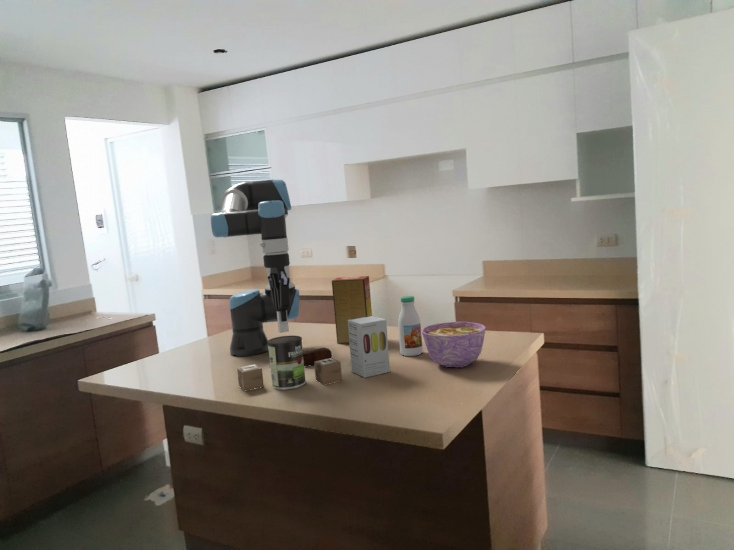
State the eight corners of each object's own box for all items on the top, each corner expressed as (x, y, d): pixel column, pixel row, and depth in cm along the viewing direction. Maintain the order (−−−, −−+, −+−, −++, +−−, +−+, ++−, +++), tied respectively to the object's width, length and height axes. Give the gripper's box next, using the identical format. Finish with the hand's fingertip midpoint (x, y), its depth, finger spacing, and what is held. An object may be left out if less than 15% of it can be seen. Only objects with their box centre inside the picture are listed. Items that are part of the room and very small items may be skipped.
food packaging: (374, 337, 222) (369, 275, 219) (369, 342, 213) (364, 278, 210) (342, 338, 225) (337, 277, 223) (336, 343, 216) (330, 280, 214)
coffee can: (312, 381, 170) (308, 336, 169) (291, 391, 162) (286, 344, 160) (287, 378, 176) (282, 334, 174) (264, 388, 167) (260, 342, 166)
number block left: (239, 387, 171) (236, 367, 170) (258, 382, 174) (255, 363, 173) (244, 391, 166) (242, 371, 165) (263, 387, 168) (261, 367, 168)
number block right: (316, 380, 171) (314, 360, 170) (333, 376, 174) (332, 357, 173) (323, 385, 165) (321, 364, 165) (342, 381, 168) (340, 360, 167)
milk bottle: (397, 356, 190) (392, 298, 188) (404, 350, 198) (400, 295, 195) (419, 357, 188) (414, 298, 185) (425, 351, 195) (421, 294, 192)
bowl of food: (438, 354, 189) (436, 320, 188) (496, 357, 179) (494, 322, 178) (413, 371, 172) (410, 334, 171) (475, 376, 162) (473, 337, 160)
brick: (304, 367, 187) (302, 354, 186) (299, 365, 190) (298, 352, 190) (332, 361, 192) (331, 348, 191) (327, 359, 195) (326, 346, 195)
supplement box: (363, 378, 169) (359, 323, 167) (350, 371, 177) (346, 319, 175) (391, 371, 173) (387, 318, 171) (377, 365, 181) (372, 315, 179)
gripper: (257, 254, 168) (265, 330, 171) (270, 255, 157) (279, 337, 159) (280, 251, 172) (288, 326, 174) (295, 252, 160) (303, 332, 163)
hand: (283, 331), depth 167 cm, fingers closed
